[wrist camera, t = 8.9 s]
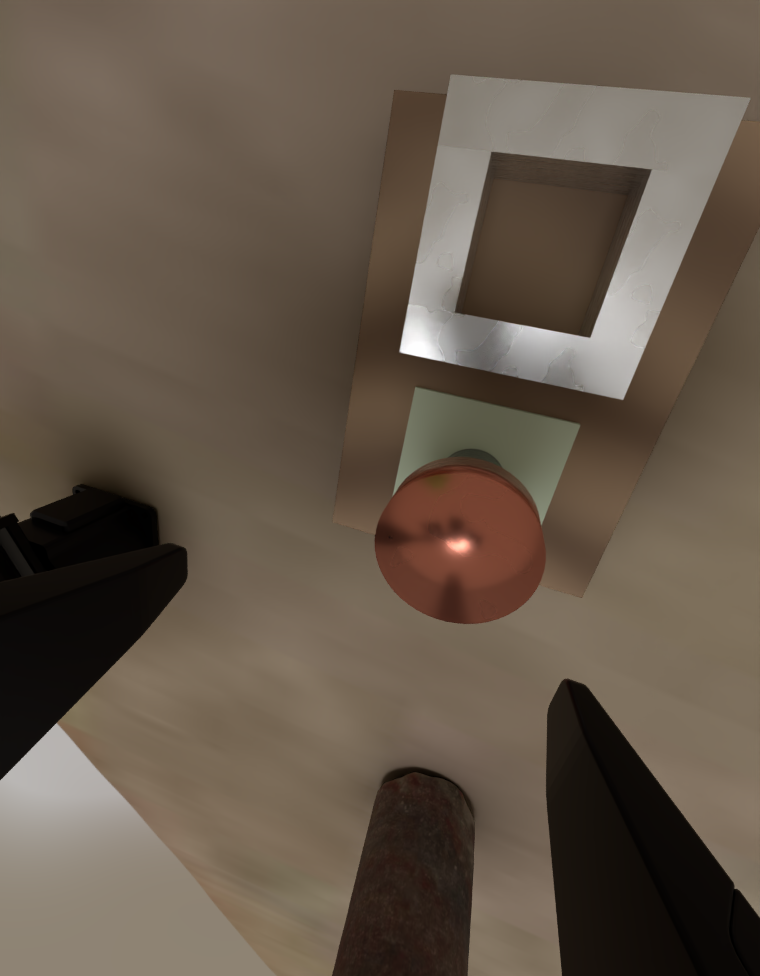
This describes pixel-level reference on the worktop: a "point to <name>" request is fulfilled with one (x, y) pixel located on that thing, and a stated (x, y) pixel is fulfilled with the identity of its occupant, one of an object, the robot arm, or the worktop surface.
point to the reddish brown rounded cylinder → (462, 540)
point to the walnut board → (540, 304)
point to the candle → (412, 884)
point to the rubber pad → (488, 439)
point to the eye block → (573, 164)
